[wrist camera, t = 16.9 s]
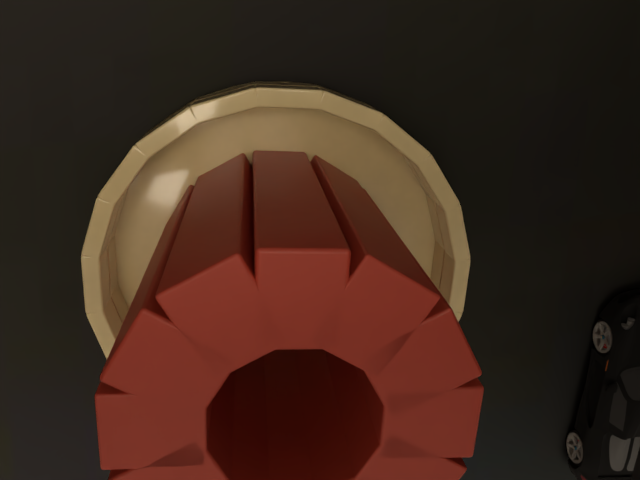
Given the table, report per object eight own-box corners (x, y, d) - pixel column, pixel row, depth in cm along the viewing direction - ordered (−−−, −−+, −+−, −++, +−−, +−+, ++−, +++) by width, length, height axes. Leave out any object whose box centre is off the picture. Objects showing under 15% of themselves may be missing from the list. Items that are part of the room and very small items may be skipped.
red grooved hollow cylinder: (394, 153, 18) (509, 251, 10) (375, 355, 20) (456, 564, 12) (159, 146, 17) (80, 246, 9) (167, 358, 19) (109, 584, 12)
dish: (463, 89, 18) (495, 97, 16) (424, 396, 22) (445, 440, 19) (90, 72, 17) (64, 78, 14) (114, 402, 20) (96, 450, 18)
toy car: (599, 283, 21) (635, 310, 19) (687, 285, 21) (733, 311, 19) (554, 468, 24) (582, 508, 22) (633, 466, 24) (668, 506, 22)
